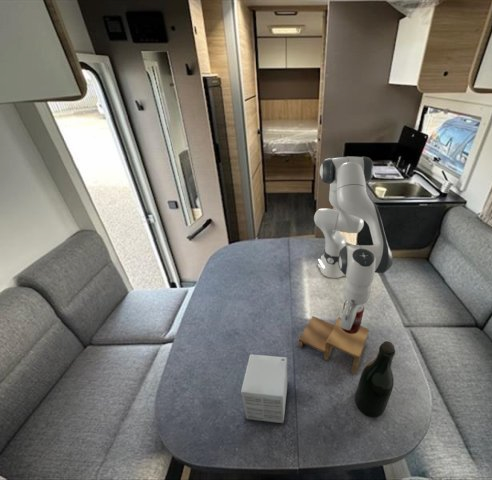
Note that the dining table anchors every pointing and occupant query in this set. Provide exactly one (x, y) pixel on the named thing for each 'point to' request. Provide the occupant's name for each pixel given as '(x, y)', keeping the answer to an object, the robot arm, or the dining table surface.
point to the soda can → (357, 320)
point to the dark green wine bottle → (376, 383)
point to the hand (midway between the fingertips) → (351, 318)
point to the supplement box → (265, 388)
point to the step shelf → (334, 339)
